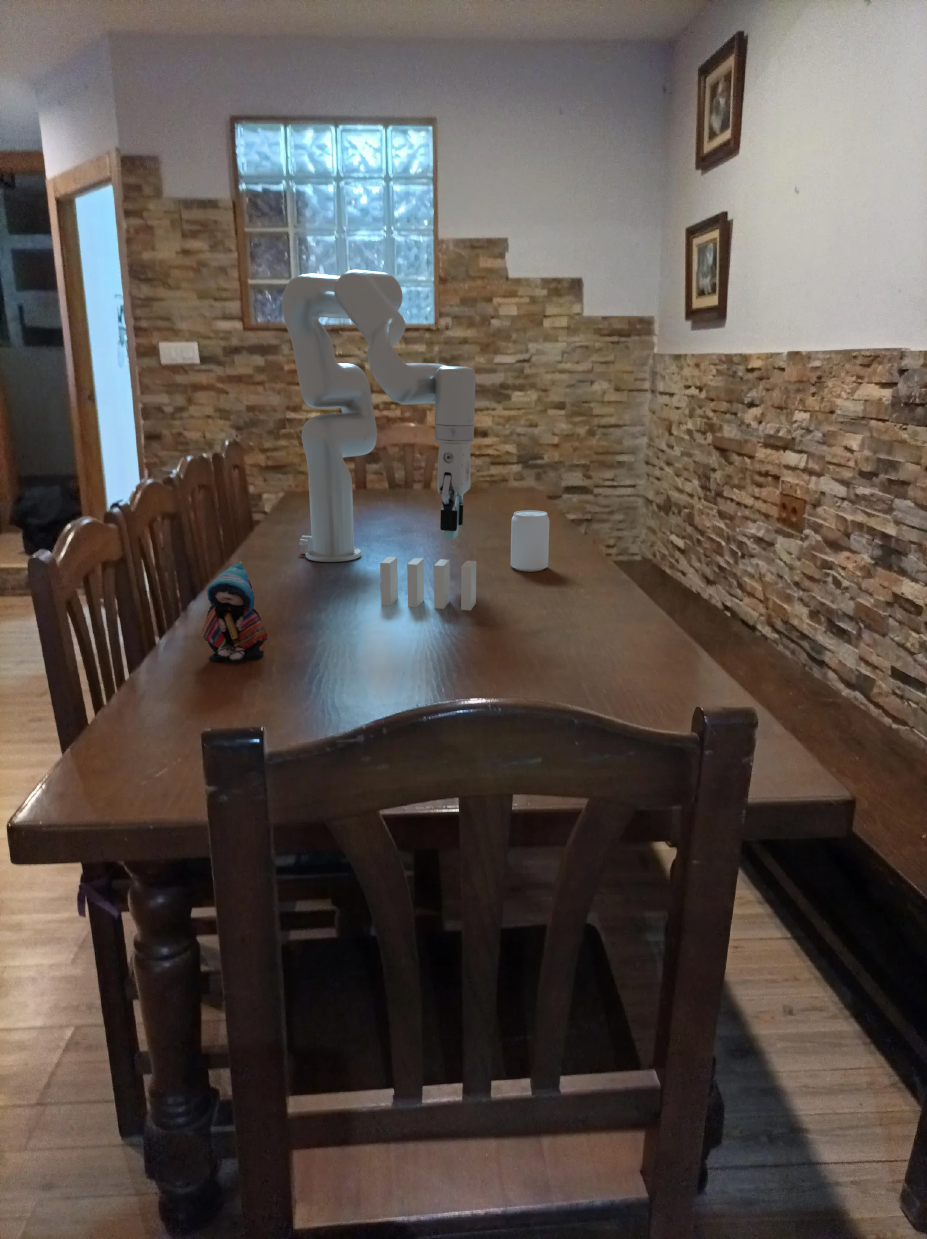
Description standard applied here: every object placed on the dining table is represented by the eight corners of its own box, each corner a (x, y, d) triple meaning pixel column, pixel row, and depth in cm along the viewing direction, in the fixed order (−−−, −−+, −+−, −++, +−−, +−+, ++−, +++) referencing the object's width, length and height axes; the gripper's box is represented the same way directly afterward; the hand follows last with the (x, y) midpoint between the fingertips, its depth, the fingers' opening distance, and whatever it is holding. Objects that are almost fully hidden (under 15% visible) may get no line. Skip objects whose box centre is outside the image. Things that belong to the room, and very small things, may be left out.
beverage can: (545, 573, 183) (547, 517, 179) (507, 571, 184) (508, 515, 181) (549, 564, 190) (551, 510, 187) (513, 563, 192) (514, 509, 188)
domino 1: (381, 605, 159) (380, 562, 157) (388, 598, 164) (387, 556, 161) (390, 605, 159) (389, 563, 156) (397, 598, 163) (397, 557, 161)
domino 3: (434, 608, 157) (434, 565, 155) (440, 600, 162) (440, 559, 160) (444, 608, 157) (443, 565, 155) (449, 601, 162) (449, 559, 159)
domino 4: (444, 538, 169) (445, 498, 166) (449, 533, 174) (450, 493, 171) (453, 539, 169) (454, 498, 166) (458, 534, 173) (459, 494, 171)
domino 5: (461, 609, 156) (461, 566, 154) (466, 602, 161) (466, 560, 159) (470, 610, 156) (471, 567, 154) (475, 602, 161) (476, 561, 158)
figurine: (196, 668, 127) (187, 568, 122) (210, 652, 133) (202, 557, 129) (264, 669, 126) (257, 569, 122) (275, 653, 133) (269, 558, 129)
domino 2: (407, 606, 158) (407, 564, 156) (414, 599, 163) (414, 558, 160) (417, 607, 158) (416, 564, 155) (423, 600, 162) (423, 558, 160)
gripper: (464, 439, 156) (461, 538, 162) (481, 430, 172) (478, 520, 178) (424, 437, 158) (422, 535, 163) (444, 428, 173) (442, 517, 179)
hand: (451, 526), depth 170 cm, fingers closed on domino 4, 4 cm apart
